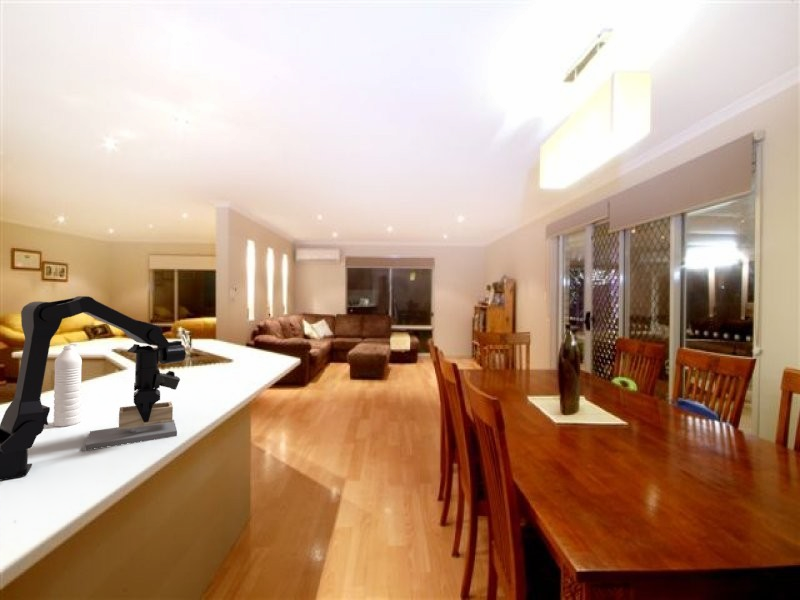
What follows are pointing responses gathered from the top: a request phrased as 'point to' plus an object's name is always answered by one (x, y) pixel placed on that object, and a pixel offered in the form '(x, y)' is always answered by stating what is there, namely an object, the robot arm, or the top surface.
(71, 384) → the water bottle
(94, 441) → the grey plate with ball
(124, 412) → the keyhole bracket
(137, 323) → the robot arm
